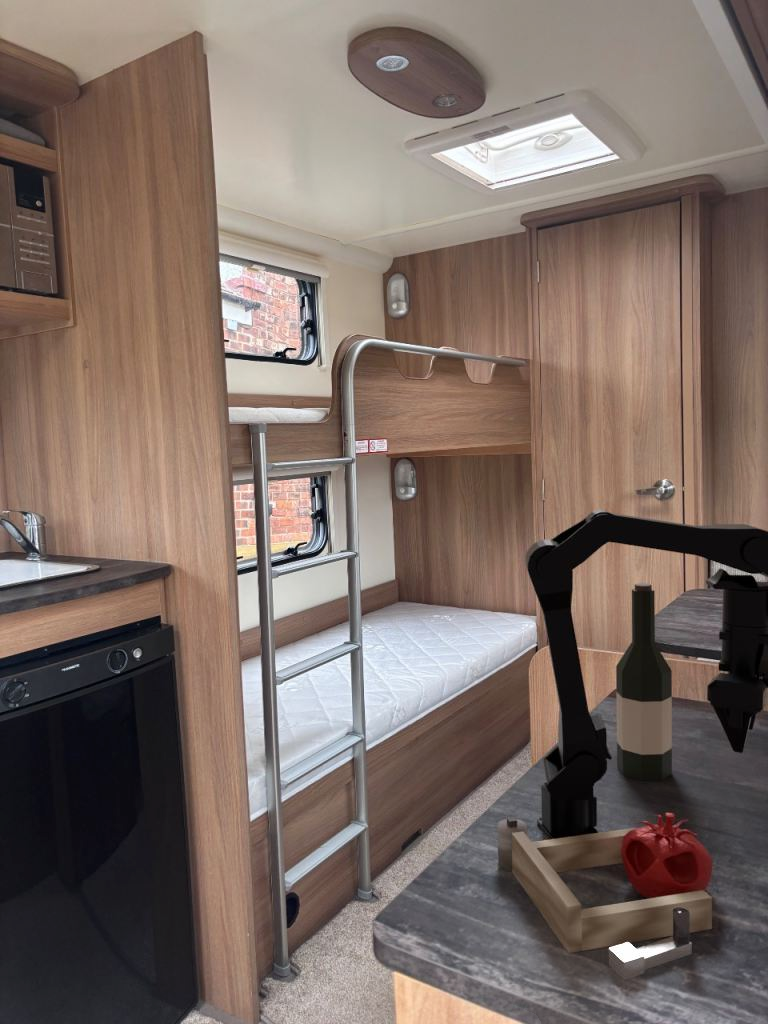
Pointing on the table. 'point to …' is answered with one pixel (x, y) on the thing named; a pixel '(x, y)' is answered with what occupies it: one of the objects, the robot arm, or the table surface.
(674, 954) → the crank handle
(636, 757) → the wine bottle
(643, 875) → the pomegranate
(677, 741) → the table surface
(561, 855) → the frame
